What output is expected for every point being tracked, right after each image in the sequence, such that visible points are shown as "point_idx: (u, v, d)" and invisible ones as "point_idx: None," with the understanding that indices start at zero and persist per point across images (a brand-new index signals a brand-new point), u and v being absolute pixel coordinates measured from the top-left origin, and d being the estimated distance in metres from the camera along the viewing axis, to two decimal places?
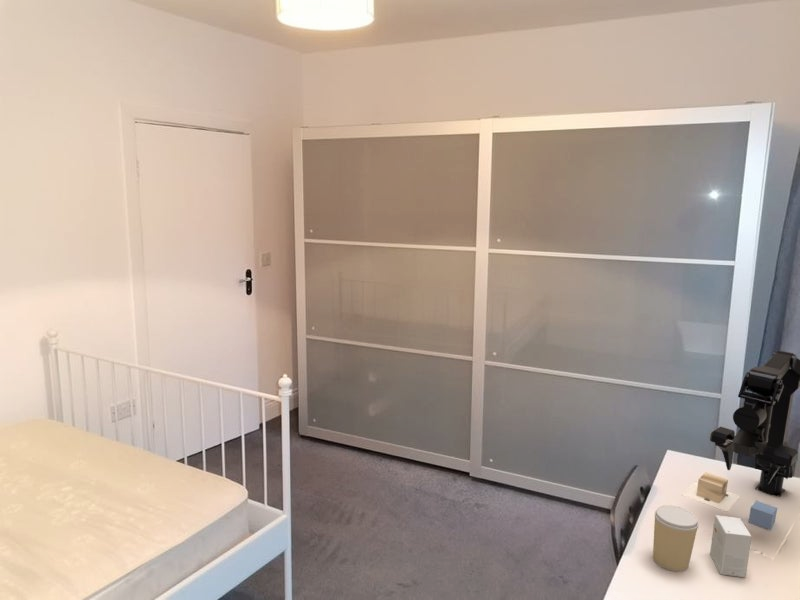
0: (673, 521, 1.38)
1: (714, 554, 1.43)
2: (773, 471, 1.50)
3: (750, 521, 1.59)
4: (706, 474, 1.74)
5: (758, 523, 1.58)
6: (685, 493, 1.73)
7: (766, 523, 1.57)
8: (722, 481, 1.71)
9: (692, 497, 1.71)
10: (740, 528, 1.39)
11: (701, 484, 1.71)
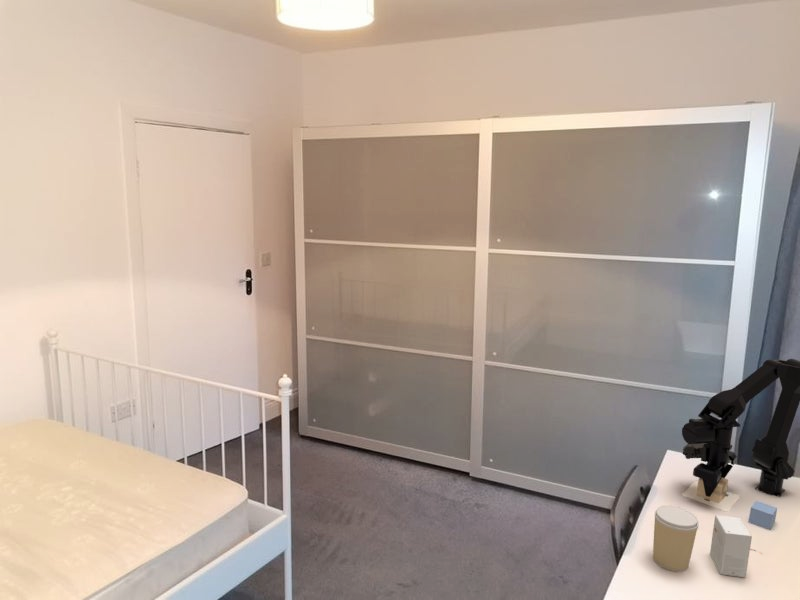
0: (673, 521, 1.38)
1: (714, 554, 1.43)
2: None
3: (750, 521, 1.59)
4: None
5: (758, 523, 1.58)
6: (685, 493, 1.73)
7: (766, 523, 1.57)
8: (722, 481, 1.71)
9: (692, 497, 1.71)
10: (740, 528, 1.39)
11: (701, 484, 1.71)
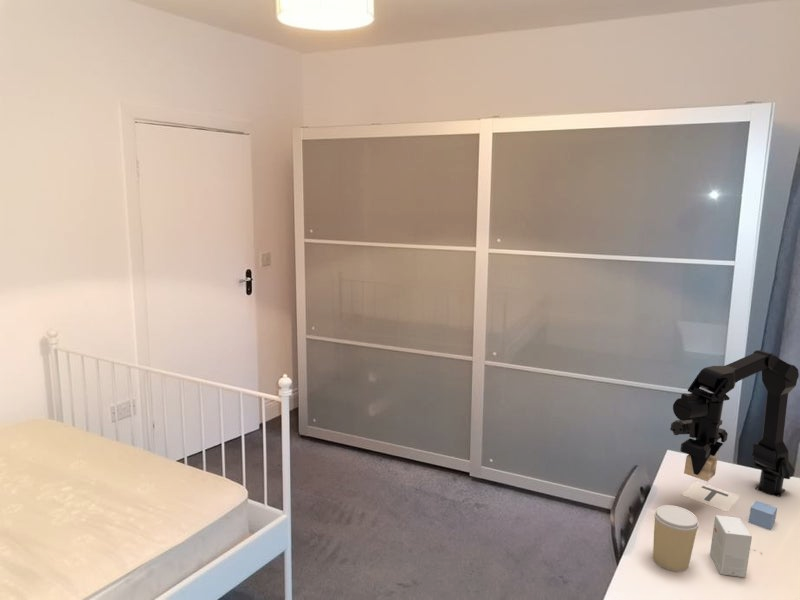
0: (673, 521, 1.38)
1: (714, 554, 1.43)
2: None
3: (750, 521, 1.59)
4: None
5: (758, 524, 1.58)
6: (685, 493, 1.73)
7: (766, 523, 1.57)
8: (711, 458, 1.62)
9: (692, 497, 1.71)
10: (740, 528, 1.39)
11: (688, 461, 1.63)
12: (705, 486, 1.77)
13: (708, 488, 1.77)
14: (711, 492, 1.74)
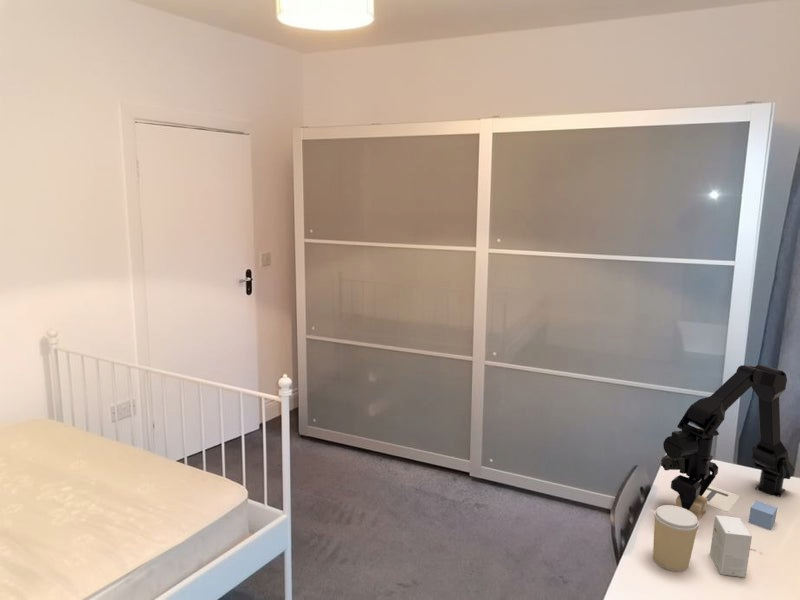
0: (673, 521, 1.38)
1: (714, 554, 1.43)
2: None
3: (750, 521, 1.59)
4: None
5: (758, 524, 1.58)
6: None
7: (766, 523, 1.57)
8: (701, 500, 1.61)
9: None
10: (740, 528, 1.39)
11: (679, 503, 1.62)
12: None
13: (708, 488, 1.77)
14: (711, 492, 1.74)
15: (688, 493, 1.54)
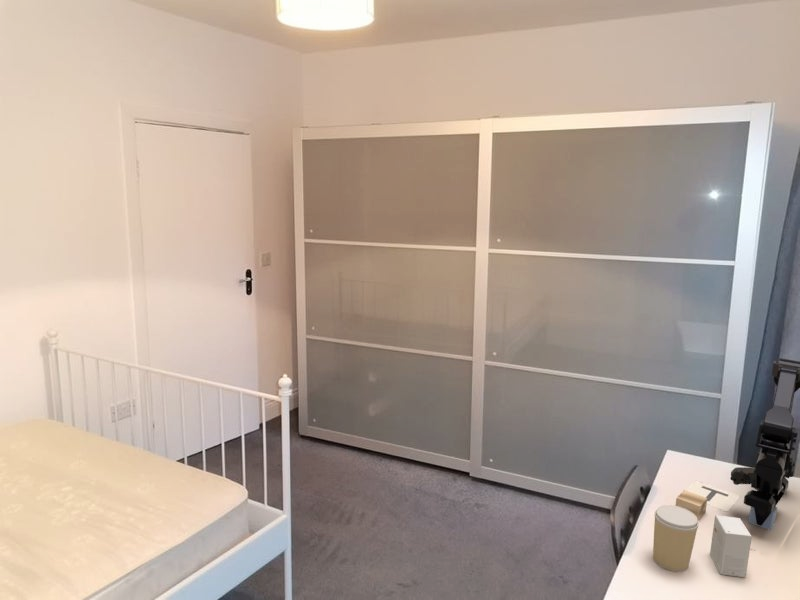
0: (673, 521, 1.38)
1: (714, 554, 1.43)
2: None
3: (750, 521, 1.59)
4: (684, 492, 1.65)
5: None
6: None
7: (766, 522, 1.57)
8: (701, 500, 1.61)
9: None
10: (740, 528, 1.39)
11: (679, 503, 1.62)
12: (705, 486, 1.77)
13: (708, 488, 1.77)
14: (711, 492, 1.74)
15: (763, 509, 1.50)
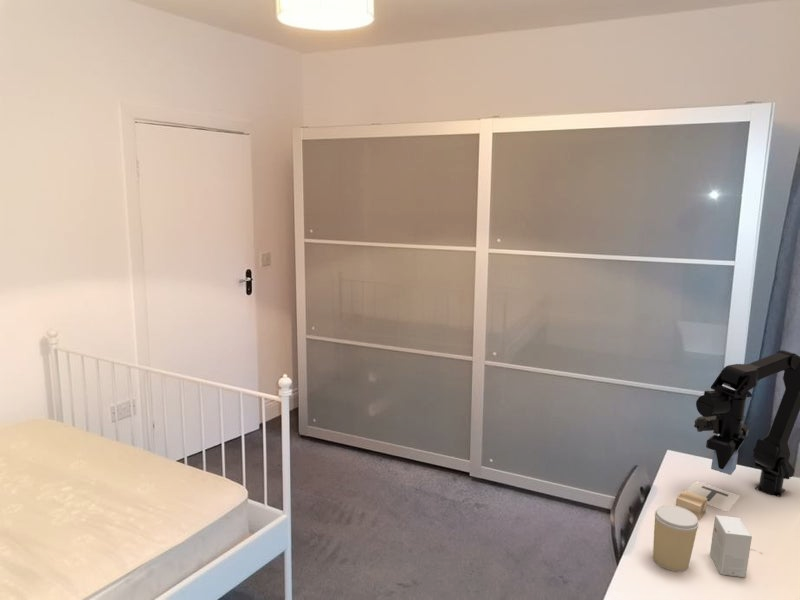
0: (673, 521, 1.38)
1: (715, 554, 1.43)
2: None
3: (713, 465, 1.68)
4: (684, 492, 1.65)
5: None
6: None
7: (727, 466, 1.65)
8: (701, 500, 1.61)
9: None
10: (740, 528, 1.39)
11: (679, 503, 1.62)
12: (705, 486, 1.77)
13: (708, 488, 1.77)
14: (711, 492, 1.74)
15: (724, 451, 1.59)
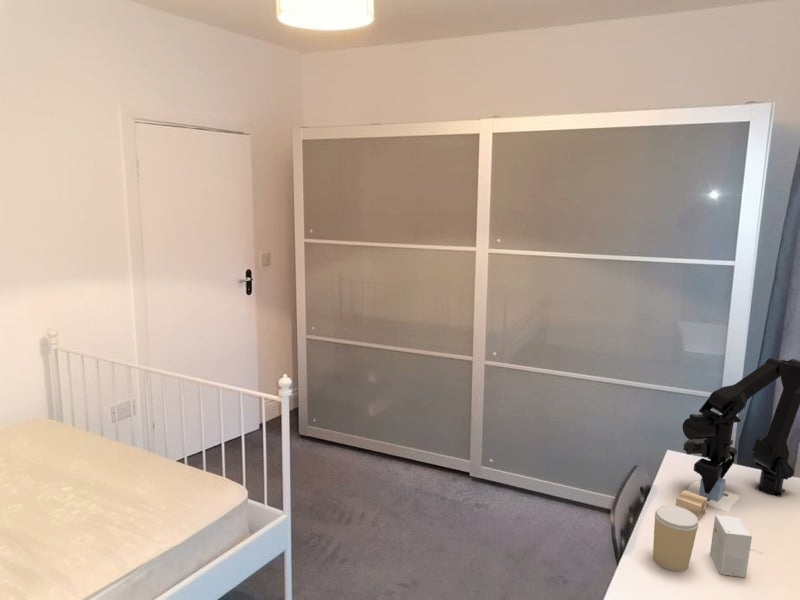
0: (673, 521, 1.38)
1: (715, 554, 1.43)
2: None
3: (700, 492, 1.72)
4: (684, 492, 1.65)
5: (708, 494, 1.71)
6: None
7: (714, 493, 1.70)
8: (701, 500, 1.61)
9: None
10: (740, 528, 1.39)
11: (679, 503, 1.62)
12: None
13: None
14: None
15: (710, 475, 1.63)
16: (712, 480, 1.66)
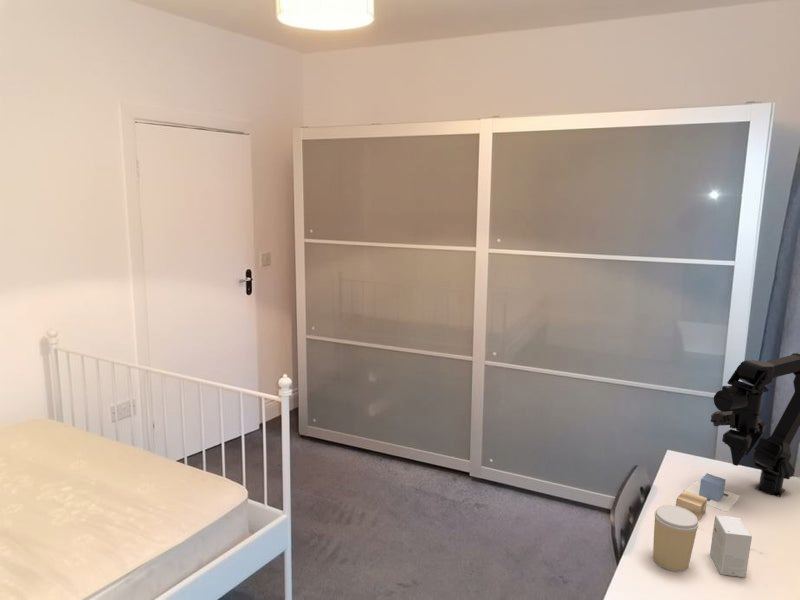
0: (673, 521, 1.38)
1: (715, 554, 1.43)
2: None
3: (700, 492, 1.72)
4: (684, 492, 1.65)
5: (708, 494, 1.71)
6: None
7: (714, 493, 1.70)
8: (701, 500, 1.61)
9: None
10: (740, 528, 1.39)
11: (679, 503, 1.62)
12: None
13: None
14: None
15: (740, 445, 1.61)
16: (741, 451, 1.64)
